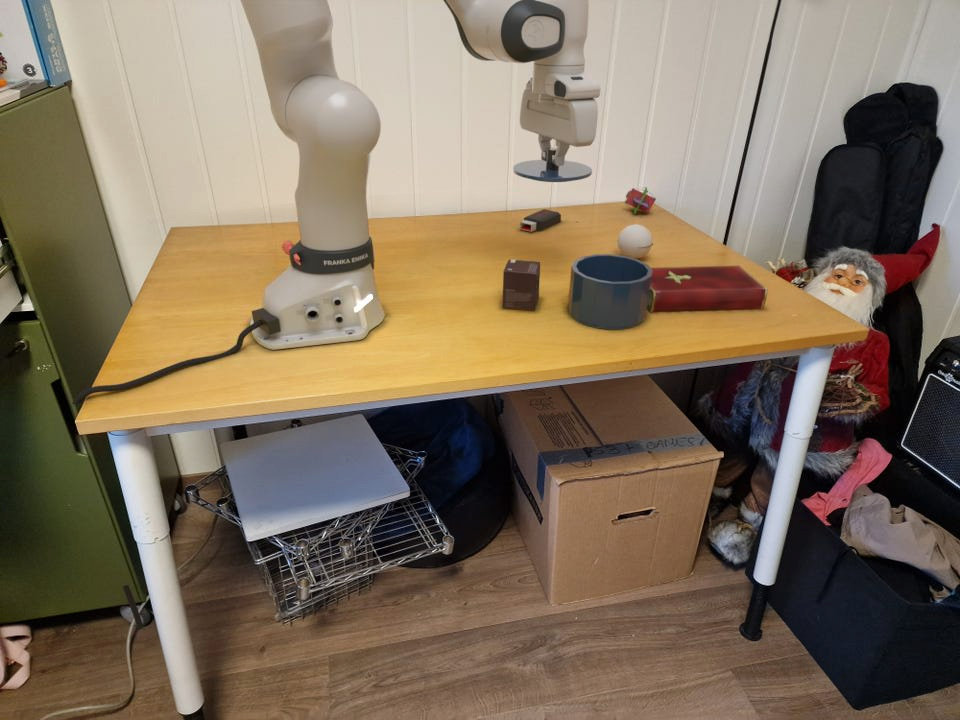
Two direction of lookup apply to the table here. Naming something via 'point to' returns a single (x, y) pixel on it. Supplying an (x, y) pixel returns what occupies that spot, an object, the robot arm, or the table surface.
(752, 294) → the hardcover book
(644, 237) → the white sphere
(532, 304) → the box
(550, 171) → the pot lid
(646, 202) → the red gift box
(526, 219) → the usb drive
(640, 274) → the pot
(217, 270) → the table surface
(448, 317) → the table surface
